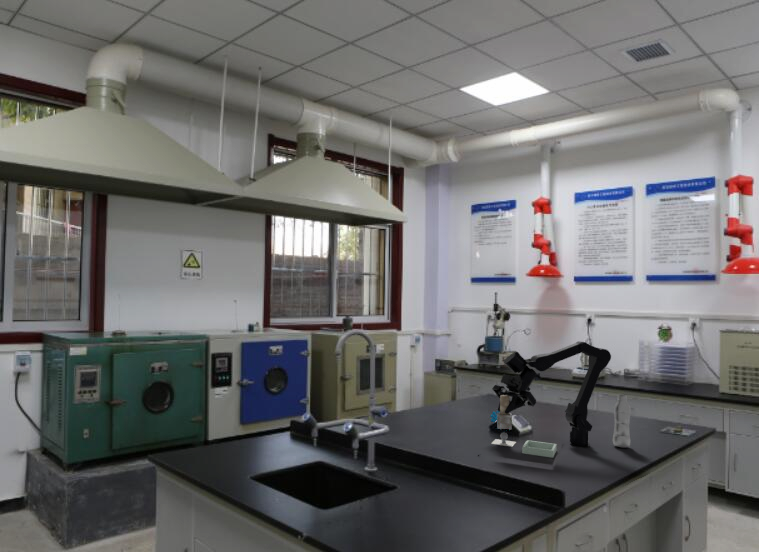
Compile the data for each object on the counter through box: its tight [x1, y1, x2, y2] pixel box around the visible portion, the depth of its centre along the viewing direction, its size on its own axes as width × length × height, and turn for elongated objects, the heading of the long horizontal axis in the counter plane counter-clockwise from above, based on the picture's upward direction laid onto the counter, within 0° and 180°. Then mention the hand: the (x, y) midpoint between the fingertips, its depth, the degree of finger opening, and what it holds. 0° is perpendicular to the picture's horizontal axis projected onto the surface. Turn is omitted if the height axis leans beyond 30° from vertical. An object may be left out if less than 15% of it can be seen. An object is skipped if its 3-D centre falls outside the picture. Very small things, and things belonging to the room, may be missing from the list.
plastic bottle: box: [612, 394, 632, 449], centre depth 220 cm, size 6×7×20 cm
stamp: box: [496, 395, 513, 431], centre depth 214 cm, size 5×5×12 cm
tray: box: [521, 440, 558, 458], centre depth 202 cm, size 11×11×4 cm
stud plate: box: [491, 431, 517, 448], centre depth 213 cm, size 8×8×5 cm
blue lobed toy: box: [490, 410, 500, 423], centre depth 243 cm, size 11×6×10 cm
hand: (502, 411), depth 213 cm, fingers closed on stamp, 3 cm apart
